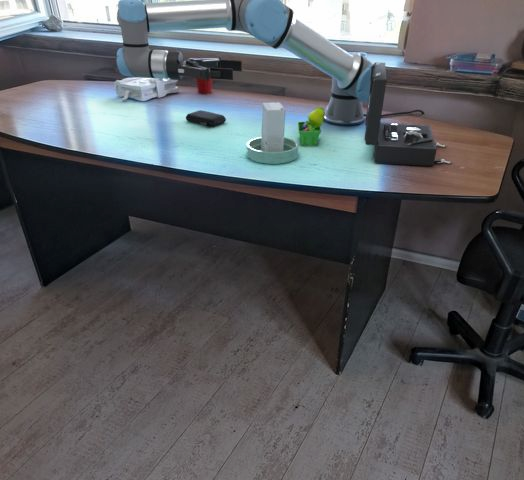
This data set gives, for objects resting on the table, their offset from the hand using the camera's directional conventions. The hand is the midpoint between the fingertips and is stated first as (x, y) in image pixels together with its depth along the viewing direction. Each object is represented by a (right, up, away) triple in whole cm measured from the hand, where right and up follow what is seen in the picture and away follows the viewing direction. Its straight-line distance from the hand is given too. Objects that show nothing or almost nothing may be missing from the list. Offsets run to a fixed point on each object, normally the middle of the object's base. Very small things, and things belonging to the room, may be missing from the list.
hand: (237, 70), depth 144 cm
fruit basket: (+24, -10, +26) cm, 37 cm away
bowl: (+11, -20, +14) cm, 27 cm away
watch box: (+55, -18, +17) cm, 60 cm away
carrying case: (-15, +4, +43) cm, 45 cm away
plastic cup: (-19, +36, +80) cm, 90 cm away
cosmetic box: (+11, -20, +14) cm, 27 cm away
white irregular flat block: (-46, +32, +76) cm, 94 cm away
